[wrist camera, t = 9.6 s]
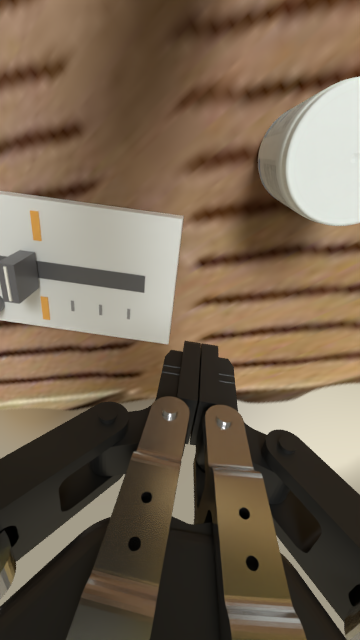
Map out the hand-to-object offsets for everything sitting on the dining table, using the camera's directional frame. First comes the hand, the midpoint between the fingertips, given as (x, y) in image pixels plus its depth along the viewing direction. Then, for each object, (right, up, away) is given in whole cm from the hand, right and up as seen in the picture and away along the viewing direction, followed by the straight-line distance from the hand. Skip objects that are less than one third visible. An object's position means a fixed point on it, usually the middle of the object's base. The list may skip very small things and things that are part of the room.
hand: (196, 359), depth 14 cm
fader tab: (-21, +9, +27) cm, 35 cm away
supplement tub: (+13, +20, +20) cm, 31 cm away
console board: (-15, +9, +29) cm, 34 cm away
